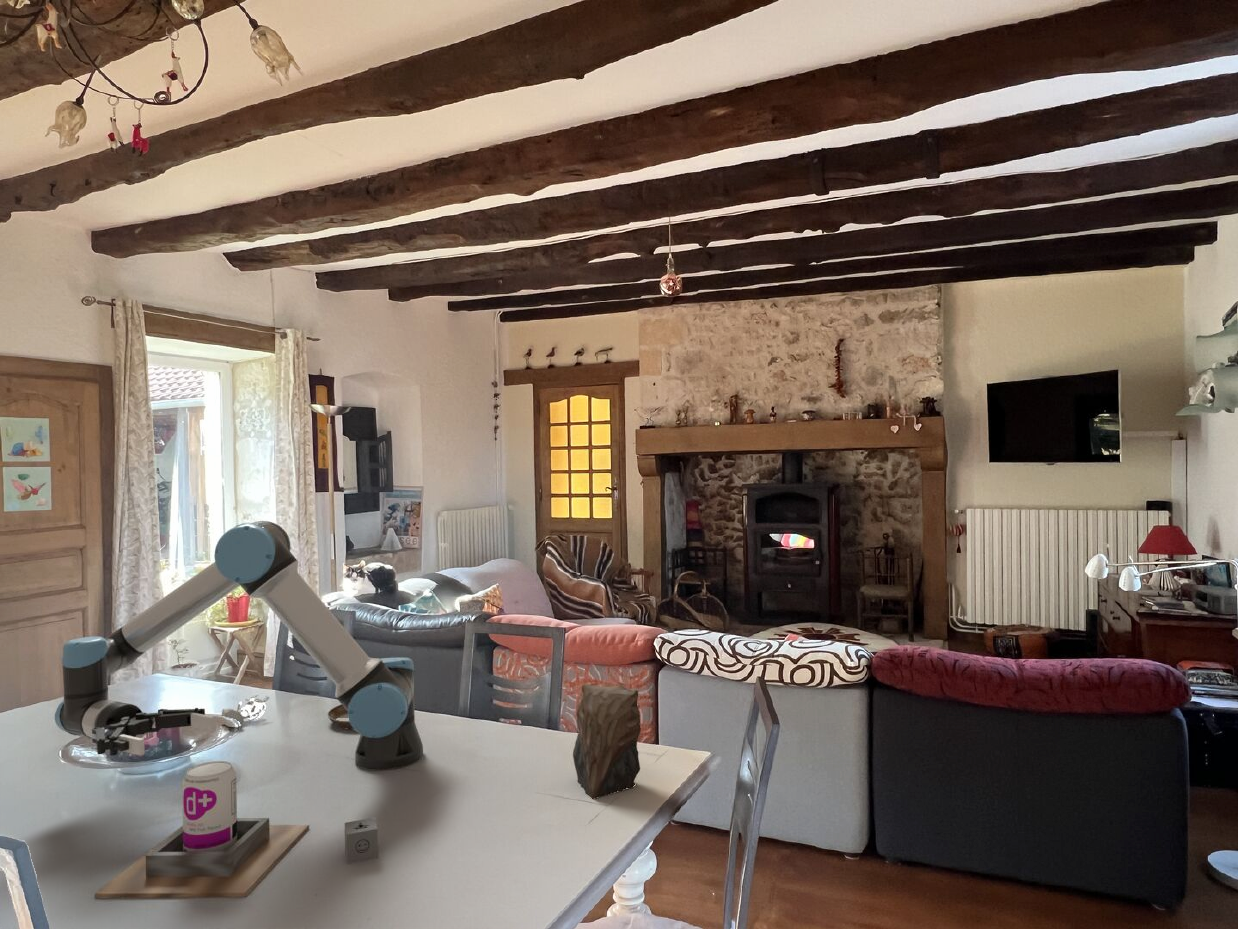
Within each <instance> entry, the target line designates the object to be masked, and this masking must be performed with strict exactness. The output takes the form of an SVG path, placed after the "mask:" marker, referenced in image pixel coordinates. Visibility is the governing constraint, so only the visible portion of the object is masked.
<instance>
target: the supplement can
mask: <svg viewBox="0 0 1238 929" xmlns="http://www.w3.org/2000/svg"><path fill="white" fill-rule="evenodd" d="M181 784H182V826H183V852H226V851H227V850H228V849H229V848H231V847H232V846H233V845H234V844H235V843H236V842H237V818H238V812H237V811H238V808H237V807H238V803H237V802H238V801H237V800H238V799H237V797H238V796H237V791H238V790H237V772H236V770H235V769H234V766H233V764H232V763H231V762H229V761H221V760H220V761H219V760H218V761H210V762H204V763H199V764H197V765H195V766H192V767H190V768H189V769H187V771H186V774H185V776H184V778H183V780H182V783H181Z"/></svg>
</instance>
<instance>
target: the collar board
mask: <svg viewBox="0 0 1238 929" xmlns="http://www.w3.org/2000/svg"><path fill="white" fill-rule="evenodd" d="M309 829H310V825H309V824H270V817H240V818H239V817H237V842H236V843H235V844H234V845H233V846H232V847H231V848H229V849H228V850H227V851H226V852H183V825H181V826H180V827H179V828H177V829H176V830H175V831H174V832H172V833H171V834H170V835H168V836H167V837H166V838H165V839H163V840H162V841H161V842H159V843H158V844H156V845H155V847H152V848H151V849H150V850H149V851H147V853H145V854H144V855H142V856H141V857H140V858H139V859H138V860H136V861H135V862H134V863H132V864H131V865H130V866H128V867H127V868H126V869H125V870H123V871H122V872H120V873H119V874H117V875H116V876H115V877H114V878H113V879H112V880H110V881H109V882H108V883H106V884H105V885H104V886H102V887H101V888H100V889H99V890H98V891H96V892H95V893H94V898H95V897H116V898H115V899H118V898H117V897H120V898H119V899H123V898H122V897H125V898H124V899H127V897H128V899H133V898H134V899H140V898H141V899H143V898H144V899H145V898H146V899H148V898H150V899H151V898H152V899H153V898H154V899H155V898H156V899H158V898H165V899H166V898H168V899H169V898H246V897H247V896H248V895H249V894H250V893H251V891H253V889H254V888H255V887H257V885H258V884H259V883H260V882H261V881H262V880H263V879H264V878H265V877H266V875H267V874H268V873H269V872H270V871H271V870H272V869H273V868H274V867H275V866H276V865H277V864H278V863H279V861H280V860H281V859H282V858H283V857H285V855H286V854H287V853H288V852H289V851H290V850H291V849H292V848H293V846H294V845H296V843H297V842H298V841H299V840H300V839H301V838H302V837H303V836H304V835H305V834H306V833H307V831H308V830H309ZM129 897H130V898H129Z"/></svg>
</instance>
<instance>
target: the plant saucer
mask: <svg viewBox="0 0 1238 929" xmlns="http://www.w3.org/2000/svg"><path fill="white" fill-rule="evenodd" d="M327 716H328V717H327V718H328V719H329V720H330V721H331V723H333V724H334V725H335V726H337V727H338V726H339V728H340V727H342V728H341V729H344V728H348V729H347V730H352V729H354V728H353V727H352V726H351V724H350V722H349V721H339V720H336V719H337V718H348V711H347V710H346V709H345V708H344V706H343V705H342V704H341V703H340V704H339V705H336V706H334V707H333V708H331V709H329V711H328V712H327Z"/></svg>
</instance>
